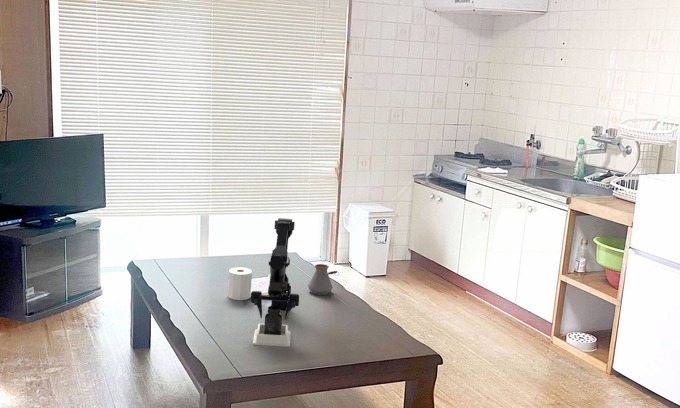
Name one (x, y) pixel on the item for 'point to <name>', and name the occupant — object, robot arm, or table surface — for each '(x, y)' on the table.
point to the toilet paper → (239, 283)
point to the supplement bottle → (273, 321)
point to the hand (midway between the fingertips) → (273, 318)
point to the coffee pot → (321, 280)
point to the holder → (271, 337)
